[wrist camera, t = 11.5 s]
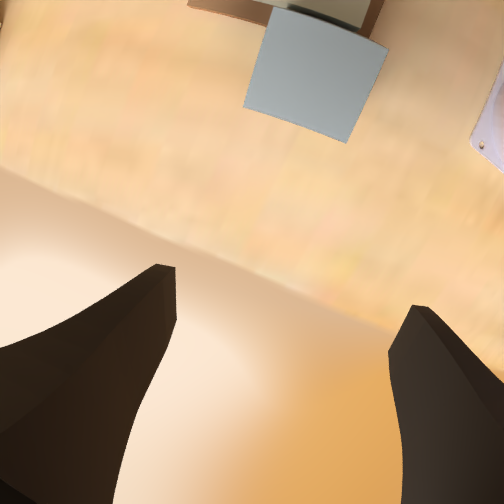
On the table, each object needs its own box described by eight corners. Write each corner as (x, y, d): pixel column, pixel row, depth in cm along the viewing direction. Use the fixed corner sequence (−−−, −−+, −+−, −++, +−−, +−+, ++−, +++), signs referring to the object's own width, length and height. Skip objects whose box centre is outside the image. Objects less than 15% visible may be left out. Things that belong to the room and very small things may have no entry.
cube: (371, 39, 12) (389, 49, 9) (340, 111, 16) (346, 143, 12) (285, 8, 12) (273, 6, 9) (261, 82, 15) (242, 106, 12)
